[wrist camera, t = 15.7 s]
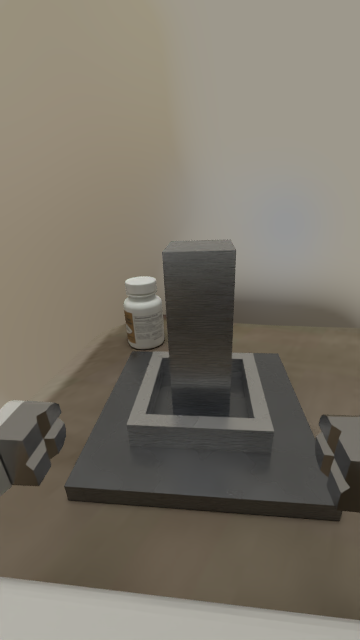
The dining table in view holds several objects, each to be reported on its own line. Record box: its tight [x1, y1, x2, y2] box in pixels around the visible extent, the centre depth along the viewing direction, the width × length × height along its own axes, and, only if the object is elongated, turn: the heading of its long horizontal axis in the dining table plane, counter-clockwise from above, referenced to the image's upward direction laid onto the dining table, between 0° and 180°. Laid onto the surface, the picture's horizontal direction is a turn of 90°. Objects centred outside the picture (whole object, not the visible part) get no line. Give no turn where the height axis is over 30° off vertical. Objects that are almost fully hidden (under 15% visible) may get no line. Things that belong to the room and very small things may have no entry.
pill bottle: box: [124, 277, 164, 349], centre depth 32 cm, size 4×4×8 cm
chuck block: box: [64, 351, 342, 521], centre depth 22 cm, size 15×15×3 cm
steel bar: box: [162, 240, 236, 417], centre depth 19 cm, size 4×4×12 cm
